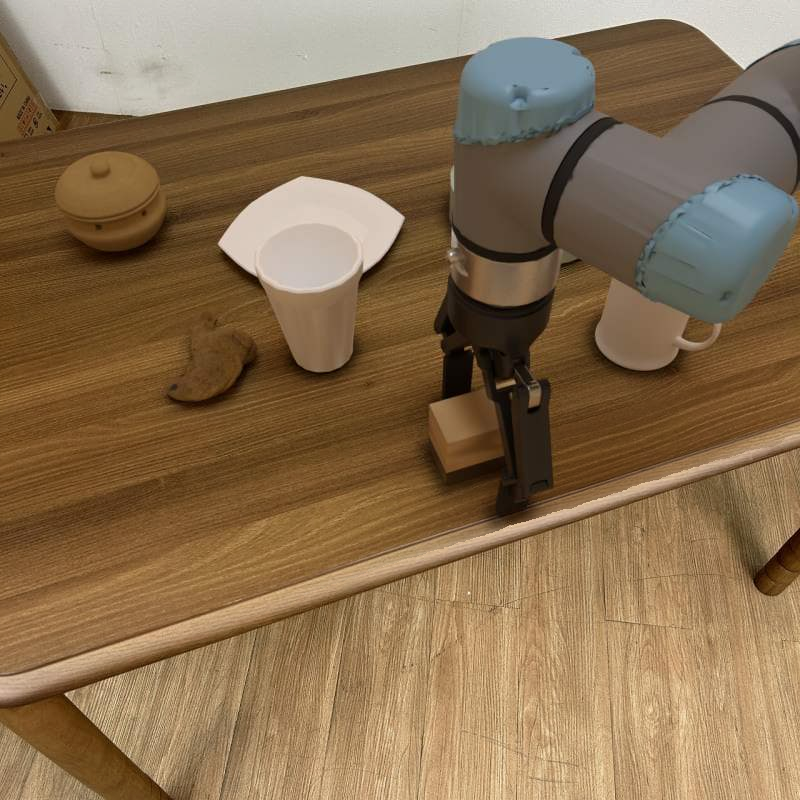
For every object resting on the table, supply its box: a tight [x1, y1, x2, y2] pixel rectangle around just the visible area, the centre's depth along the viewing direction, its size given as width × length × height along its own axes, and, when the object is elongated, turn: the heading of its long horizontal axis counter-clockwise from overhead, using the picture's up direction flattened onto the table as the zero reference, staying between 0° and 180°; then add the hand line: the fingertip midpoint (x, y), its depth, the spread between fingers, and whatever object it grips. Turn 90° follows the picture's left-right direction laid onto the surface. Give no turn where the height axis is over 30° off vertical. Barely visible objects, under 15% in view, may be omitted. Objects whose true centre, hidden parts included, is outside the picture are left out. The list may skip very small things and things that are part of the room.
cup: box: [254, 221, 364, 373], centre depth 72 cm, size 10×10×13 cm
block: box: [427, 379, 516, 486], centre depth 66 cm, size 9×4×6 cm, turn 109°
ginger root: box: [165, 310, 258, 402], centre depth 75 cm, size 10×10×4 cm
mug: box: [594, 277, 722, 372], centre depth 72 cm, size 12×8×12 cm
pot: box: [54, 150, 168, 253], centre depth 86 cm, size 12×12×10 cm
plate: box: [217, 175, 406, 278], centre depth 88 cm, size 19×19×2 cm
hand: (481, 451), depth 69 cm, fingers open, 12 cm apart
